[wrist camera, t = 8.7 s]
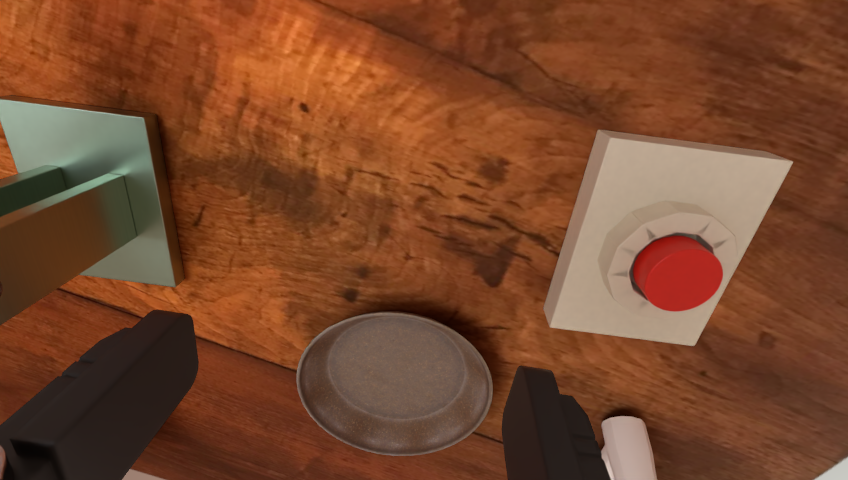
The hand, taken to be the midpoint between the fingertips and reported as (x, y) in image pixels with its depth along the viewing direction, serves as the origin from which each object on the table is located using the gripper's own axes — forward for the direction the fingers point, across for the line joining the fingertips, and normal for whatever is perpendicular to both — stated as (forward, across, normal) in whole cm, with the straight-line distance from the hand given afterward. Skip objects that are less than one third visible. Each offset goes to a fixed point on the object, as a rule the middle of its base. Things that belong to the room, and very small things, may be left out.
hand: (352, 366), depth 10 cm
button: (+14, -16, +2) cm, 21 cm away
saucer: (+18, -1, +17) cm, 24 cm away
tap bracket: (+17, +20, +5) cm, 27 cm away
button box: (+18, -16, +2) cm, 24 cm away
